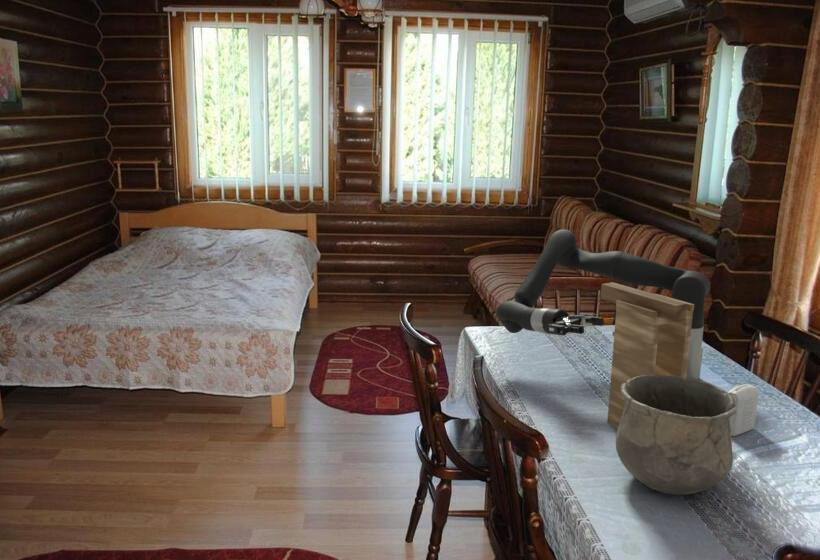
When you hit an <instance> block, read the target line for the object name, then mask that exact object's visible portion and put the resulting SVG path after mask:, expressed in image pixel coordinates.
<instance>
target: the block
mask: <svg viewBox="0 0 820 560" xmlns="http://www.w3.org/2000/svg"><path fill="white" fill-rule="evenodd" d="M656 294H657V293H651V292H648V291H645V290H641V289H638V288H635V287H630V286H627V285H625V284H620V283H617V282H613V281H612V282H607V283H601V287H600V300H604V301H607V302H610V303H613V304H616V301H617V300H622V301H625V302H628V303H631V304H635V305H638V306H641V307H644V308H648V309H651V310H654V311H658V314H657V317H660V318H663V319H666V320H669V321H672V322H678V321H683V320H686V315H687V306H688V304H687V303H684V302H680V301H677V300H673V299H670V298H671V297H670V298H666V297H667V296H666V297H663V296H664V295H662V296H659V295H660V294H659V295H656Z"/></svg>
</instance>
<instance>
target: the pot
mask: <svg viewBox="0 0 820 560" xmlns="http://www.w3.org/2000/svg"><path fill="white" fill-rule="evenodd" d="M620 389H621V394H622V395H623V396H624V398H625V399H624V401H625V407H624V411H623V414H622V417H621V421H620V424H619V427H618V428H617V431H616V434H615V447H616V448H615V450H616V453H617V456H618V458H619V460H620V461H621V463H622V465H623V466H624V468H625V469H626V471H628V473H629V474H630V475H632V476H633V477H634V478H635V479H636V480H638V481H639V482H641V483H642V484H643V485H645V486H647V487H648V488H650V489H652V490H655V491H657V492H660V493H663V494H667V495H677V496H679V495H680V496H681V495H682V496H684V495H691V494H696V493H699V492H702V491H706V490H709V489H711V488H713V487H715V486H717V485H718V484H719V483H721V482H722V481H724V479H726V478H727V476H728V475H729V473H730V471H731V470H732V469H733V462H734V455H733V442H732V436H731V426H730V417H731V416H732V415H734V414H736V412H737V411H736V409H732V408H733V407H735V406H736V405H735V399H734V397H733V396H731V395H730V394H728V392H727V391H726V390H724V389H723V388H721V387H719V386H717V385H715V384H712V383H710V382H708V381H703V380H700V379H698V380H697V379H689V378H685V379H684V380H683V378H682V377H680V376H672V375H668V376H667V375H642V376H637V377H634V378H633V379H630V380H627V382H626V383H623V384H622V385H621V388H620Z"/></svg>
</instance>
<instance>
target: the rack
mask: <svg viewBox="0 0 820 560" xmlns="http://www.w3.org/2000/svg"><path fill="white" fill-rule="evenodd" d="M655 294H656V295H659V296H663V297H666V298H670V299H673V298H672V297H670V296H666V295H662V294H658V293H655ZM673 300H677V299H673ZM677 301H680V300H677ZM680 302H684V301H680ZM684 303H687V304H688V306H687V315H686V320H683V321H678V322H672V321H669V320H666V319H663V318H660V317H657V314H658V311H654V310H651V309H648V308H644V307H641V306H638V305H635V304H631V303H628V302H625V301H622V300H617V301H616V303H615V306H616V307H615V308H616V309H615V321H614V322H615V323H614V332H615V333H614V336H613V347H612V360H611V372H610V373H611V375H610V385H609V395H608V397H609V399H608V412H607V423H608V424H609V423H610V425H611V424H612V425H611V426H613V425H614V426H613V427H615V428H617V429H618V427H619V424H620V421H621V417H622V414H623V411H624V407H625V401H624V399H625V398H624V396H623V395H622V394H621V389H620V388H621V385H622V384H623V383H626V382H627V380H630V379H633V378H634V377H637V376H642V375H667V376H668V375H672V376H680V377H682V378H683V380H684V379H685V378H686V374H687V364H688V355H689V345H690V336H691V326H692V317H693V310H694V304H691V303H688V302H684Z"/></svg>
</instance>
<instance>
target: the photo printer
mask: <svg viewBox="0 0 820 560" xmlns="http://www.w3.org/2000/svg"><path fill="white" fill-rule="evenodd" d="M727 393H728V394H730V395H731V396H733V397H734V399H735V405H736V406H735V407H733V408H732V409H736V411H737V412H736V414H734V415H732V416H731V417H730V426H731V437H736V436H740V435H742V434H744V433H747V432H748V431H749V432H750V431H752V430H753V429H754V428H755V424H756V417H757V416H756V415H757V410H758V409H757V408H758V402H759V396H760V395H759V394H760V393H759V390H758V388H757V387H756V386H755V385H751V384H748V383H746V384H740V385H737V386H734V387H733V388H732V389H730V390H729V391H728V392H727Z"/></svg>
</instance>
